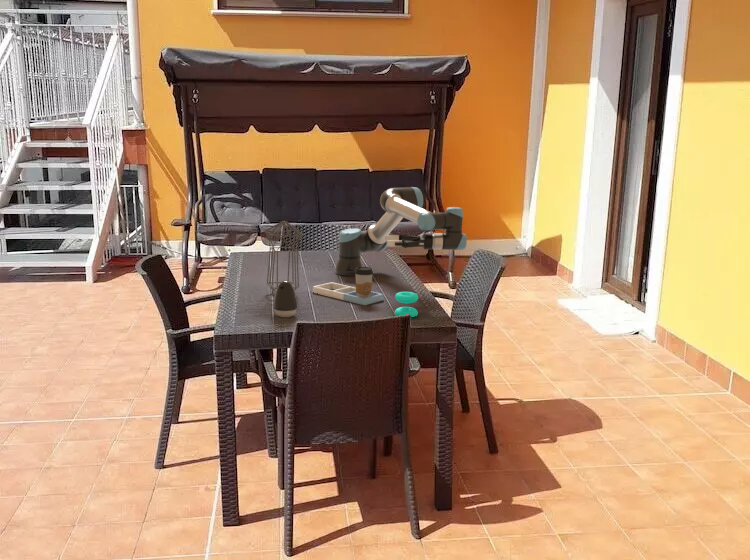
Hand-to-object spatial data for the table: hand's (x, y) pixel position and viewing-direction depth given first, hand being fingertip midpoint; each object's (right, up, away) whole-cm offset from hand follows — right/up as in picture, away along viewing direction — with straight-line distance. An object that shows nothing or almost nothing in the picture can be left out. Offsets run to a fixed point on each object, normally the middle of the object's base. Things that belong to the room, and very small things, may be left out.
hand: (385, 240), depth 349 cm
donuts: (+8, -34, -19) cm, 40 cm away
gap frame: (-18, -26, +12) cm, 33 cm away
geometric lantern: (-48, -25, +13) cm, 55 cm away
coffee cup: (-10, -27, +6) cm, 30 cm away
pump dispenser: (-43, -33, -24) cm, 59 cm away
